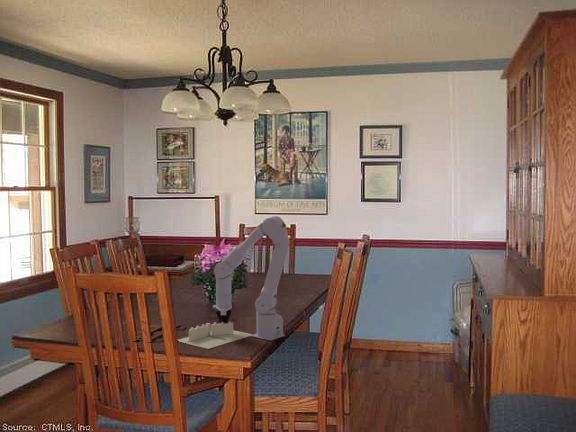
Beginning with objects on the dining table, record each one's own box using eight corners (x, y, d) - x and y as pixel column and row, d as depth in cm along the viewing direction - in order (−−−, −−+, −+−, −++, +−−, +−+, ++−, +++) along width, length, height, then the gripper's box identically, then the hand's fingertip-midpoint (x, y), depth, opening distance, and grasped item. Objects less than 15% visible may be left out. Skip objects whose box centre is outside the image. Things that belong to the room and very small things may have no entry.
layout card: (253, 335, 214) (253, 334, 214) (208, 349, 197) (208, 348, 197) (221, 328, 225) (221, 327, 225) (175, 341, 207) (175, 340, 207)
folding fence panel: (212, 335, 213) (211, 323, 213) (211, 334, 214) (211, 322, 214) (233, 333, 215) (233, 321, 215) (232, 333, 216) (232, 321, 216)
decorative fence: (188, 329, 227) (153, 326, 231) (188, 325, 227) (153, 322, 231) (159, 345, 205) (122, 342, 209) (159, 340, 205) (121, 337, 209)
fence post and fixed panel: (211, 335, 213) (211, 323, 213) (191, 341, 205) (190, 328, 205) (208, 335, 214) (208, 322, 214) (188, 341, 206) (187, 328, 206)
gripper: (213, 290, 222) (213, 325, 223) (212, 298, 207) (212, 335, 208) (231, 290, 222) (231, 324, 223) (232, 297, 208) (232, 334, 209)
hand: (223, 329), depth 216 cm, fingers closed, pressing on folding fence panel
